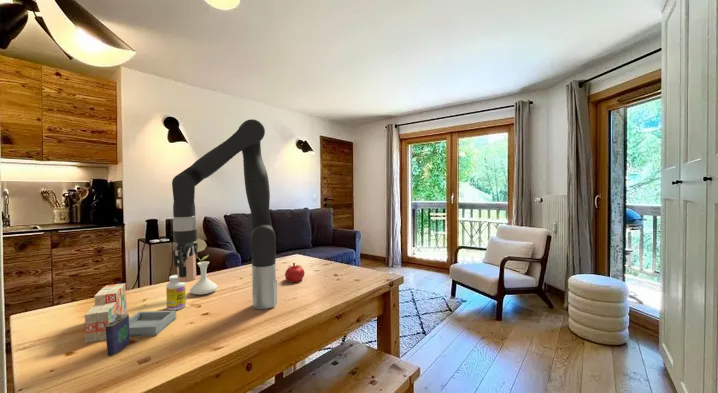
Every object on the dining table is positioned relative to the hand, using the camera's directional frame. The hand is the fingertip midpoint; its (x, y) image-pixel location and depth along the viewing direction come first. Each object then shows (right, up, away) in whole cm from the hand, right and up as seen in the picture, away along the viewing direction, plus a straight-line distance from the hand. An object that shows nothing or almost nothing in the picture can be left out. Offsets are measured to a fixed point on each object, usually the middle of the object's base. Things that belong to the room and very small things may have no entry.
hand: (186, 274), depth 115 cm
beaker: (0, -2, 0) cm, 2 cm away
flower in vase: (-9, -16, +29) cm, 35 cm away
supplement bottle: (-11, -17, +12) cm, 23 cm away
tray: (-11, -17, -5) cm, 21 cm away
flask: (-11, -18, -18) cm, 28 cm away
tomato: (+30, -15, +47) cm, 58 cm away
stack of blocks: (-25, -18, -4) cm, 31 cm away
